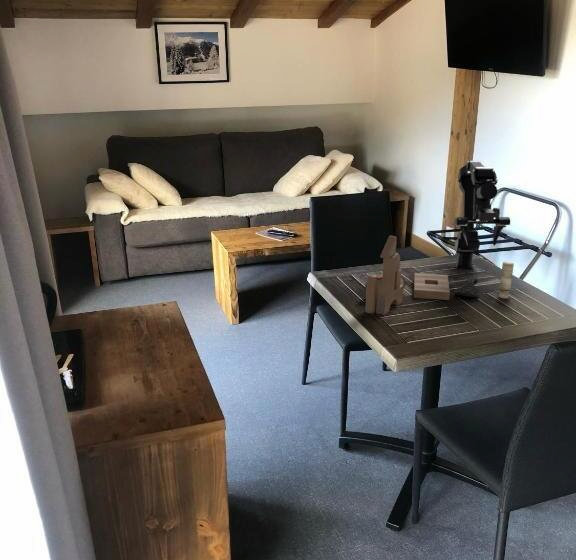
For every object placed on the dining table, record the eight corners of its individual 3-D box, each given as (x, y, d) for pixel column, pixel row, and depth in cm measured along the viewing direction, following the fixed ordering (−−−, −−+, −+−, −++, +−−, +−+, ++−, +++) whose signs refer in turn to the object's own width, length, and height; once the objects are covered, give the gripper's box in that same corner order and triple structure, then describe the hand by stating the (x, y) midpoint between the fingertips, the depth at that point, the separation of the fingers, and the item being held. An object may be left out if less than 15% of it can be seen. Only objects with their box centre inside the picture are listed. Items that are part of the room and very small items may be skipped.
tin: (401, 292, 206) (402, 270, 204) (405, 295, 204) (407, 273, 201) (363, 298, 201) (364, 275, 198) (368, 301, 199) (369, 278, 196)
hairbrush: (485, 273, 218) (477, 292, 196) (484, 283, 219) (476, 302, 197) (463, 271, 221) (452, 288, 199) (462, 280, 222) (451, 298, 200)
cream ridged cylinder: (497, 294, 204) (501, 261, 200) (508, 295, 203) (513, 261, 199) (498, 298, 201) (503, 264, 196) (510, 299, 200) (514, 265, 196)
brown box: (414, 280, 218) (414, 273, 217) (446, 282, 216) (447, 275, 215) (413, 297, 201) (414, 289, 200) (449, 300, 199) (449, 292, 198)
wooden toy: (384, 298, 201) (389, 229, 193) (402, 302, 197) (407, 232, 189) (363, 312, 189) (367, 239, 181) (381, 317, 186) (386, 243, 177)
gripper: (460, 200, 199) (459, 245, 200) (515, 199, 197) (514, 245, 198) (453, 202, 210) (453, 245, 211) (506, 202, 209) (505, 245, 209)
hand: (481, 245), depth 207 cm, fingers open, 9 cm apart
